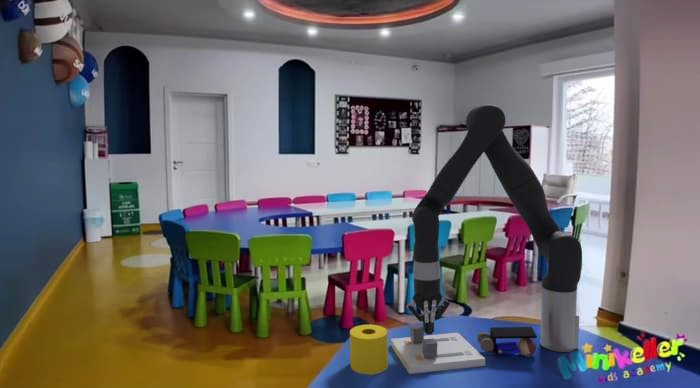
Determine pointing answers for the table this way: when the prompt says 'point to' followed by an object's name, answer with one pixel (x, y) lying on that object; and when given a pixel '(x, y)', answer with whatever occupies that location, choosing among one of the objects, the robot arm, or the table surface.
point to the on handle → (429, 348)
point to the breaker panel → (449, 354)
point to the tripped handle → (416, 333)
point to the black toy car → (522, 347)
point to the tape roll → (369, 349)
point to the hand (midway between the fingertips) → (428, 333)
